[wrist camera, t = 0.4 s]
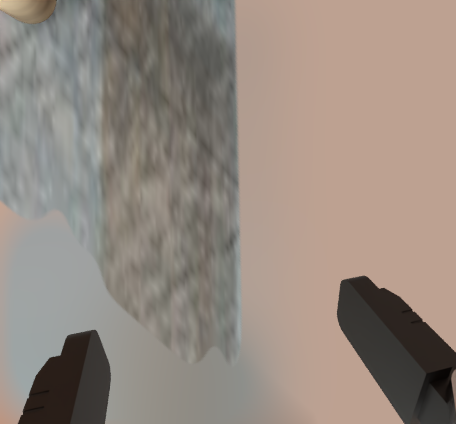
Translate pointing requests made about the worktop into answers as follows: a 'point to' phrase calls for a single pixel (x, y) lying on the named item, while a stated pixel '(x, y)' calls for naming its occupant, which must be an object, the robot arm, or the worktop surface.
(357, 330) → the robot arm
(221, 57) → the worktop surface
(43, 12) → the maple pillar
